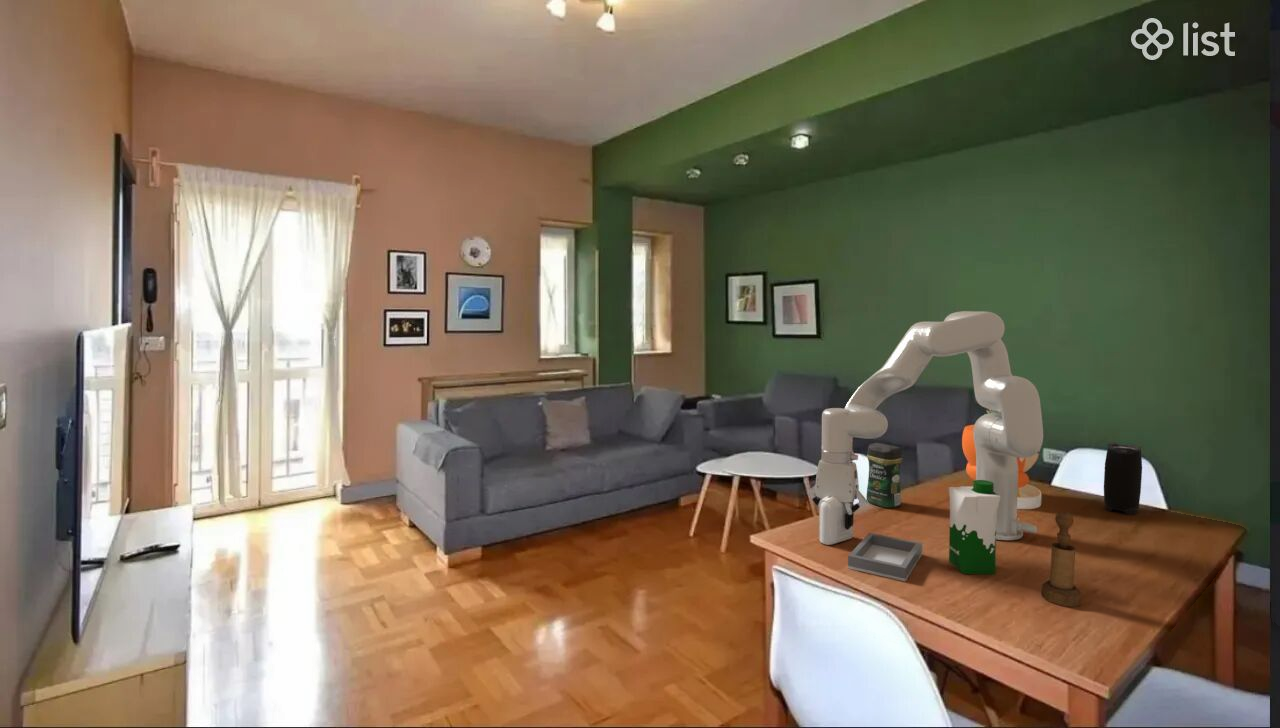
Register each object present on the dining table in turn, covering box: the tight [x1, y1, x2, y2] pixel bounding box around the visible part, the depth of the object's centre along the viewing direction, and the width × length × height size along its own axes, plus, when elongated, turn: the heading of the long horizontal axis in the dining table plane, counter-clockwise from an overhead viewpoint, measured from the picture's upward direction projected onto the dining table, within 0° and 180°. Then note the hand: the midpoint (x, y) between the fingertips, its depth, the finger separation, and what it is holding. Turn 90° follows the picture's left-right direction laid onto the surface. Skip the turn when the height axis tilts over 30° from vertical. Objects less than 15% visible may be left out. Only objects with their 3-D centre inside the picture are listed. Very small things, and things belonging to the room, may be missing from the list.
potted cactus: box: [961, 409, 1043, 510], centre depth 187 cm, size 22×22×35 cm
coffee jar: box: [865, 442, 903, 509], centre depth 184 cm, size 10×8×19 cm
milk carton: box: [948, 480, 1000, 575], centre depth 138 cm, size 9×9×20 cm
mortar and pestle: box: [1041, 511, 1082, 608], centre depth 122 cm, size 7×6×18 cm
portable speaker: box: [1103, 442, 1143, 515], centre depth 174 cm, size 8×9×19 cm
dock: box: [847, 532, 923, 582], centre depth 143 cm, size 12×17×3 cm
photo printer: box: [818, 496, 855, 546], centre depth 156 cm, size 10×4×12 cm, turn 124°
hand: (836, 524), depth 156 cm, fingers closed on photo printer, 5 cm apart
